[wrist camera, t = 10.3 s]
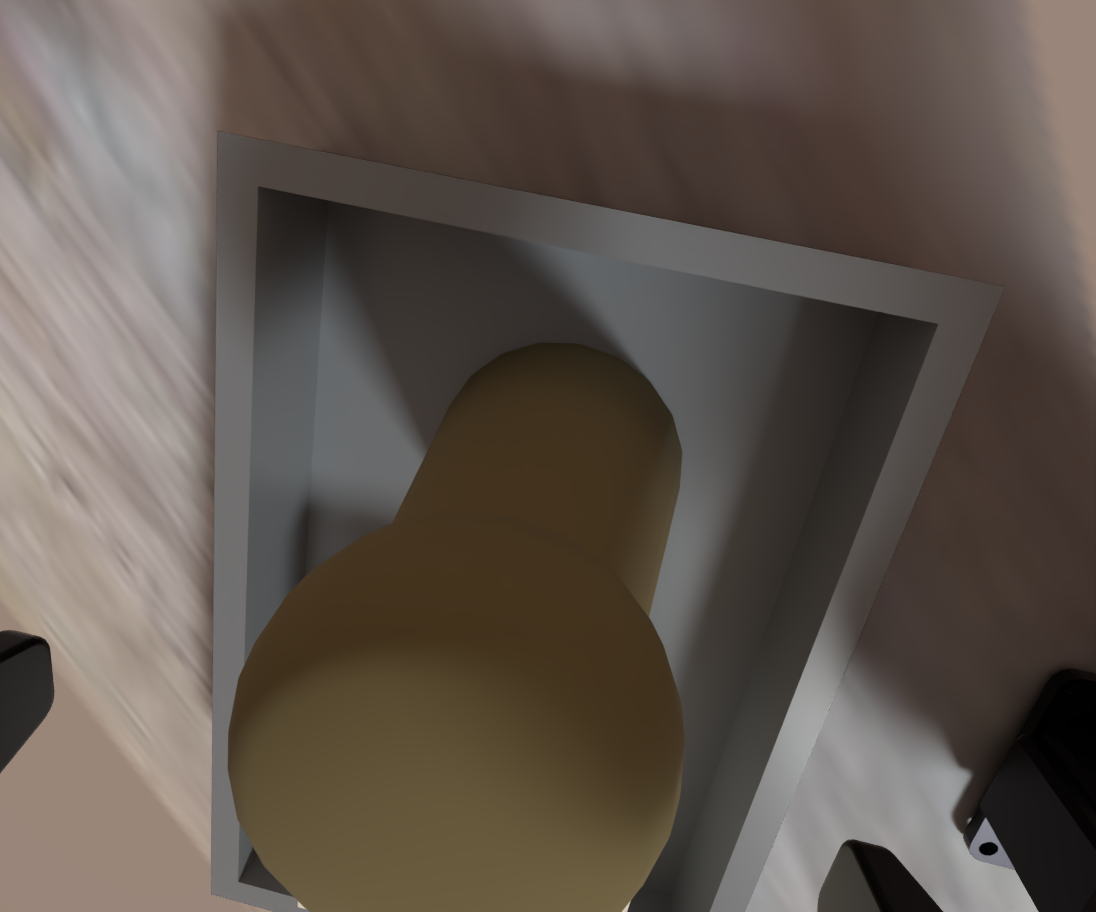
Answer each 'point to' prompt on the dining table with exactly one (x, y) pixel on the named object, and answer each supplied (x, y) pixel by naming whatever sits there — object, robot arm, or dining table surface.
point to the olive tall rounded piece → (481, 666)
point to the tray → (650, 349)
